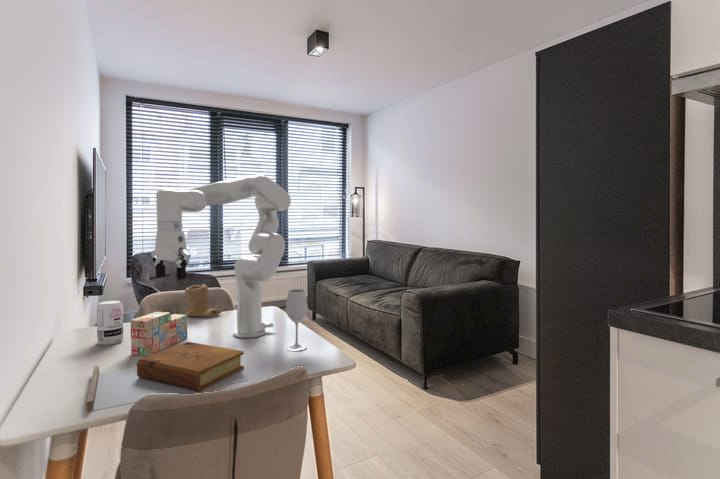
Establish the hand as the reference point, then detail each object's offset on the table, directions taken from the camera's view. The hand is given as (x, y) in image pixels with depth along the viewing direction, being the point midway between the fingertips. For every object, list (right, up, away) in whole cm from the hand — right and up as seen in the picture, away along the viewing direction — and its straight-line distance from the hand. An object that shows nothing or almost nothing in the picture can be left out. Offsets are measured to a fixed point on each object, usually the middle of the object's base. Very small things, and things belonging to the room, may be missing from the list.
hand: (170, 278), depth 133 cm
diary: (+13, -28, -14) cm, 33 cm away
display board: (+8, -27, -17) cm, 33 cm away
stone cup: (-12, -24, +56) cm, 62 cm away
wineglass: (+40, -27, +11) cm, 50 cm away
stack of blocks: (-9, -26, +12) cm, 30 cm away
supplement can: (-30, -26, +15) cm, 42 cm away
